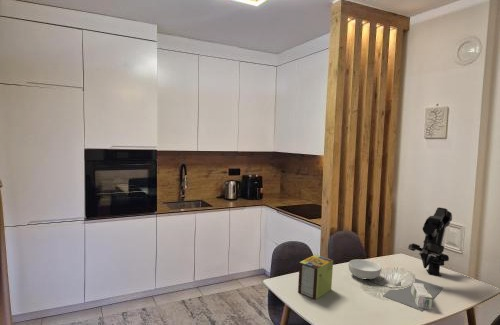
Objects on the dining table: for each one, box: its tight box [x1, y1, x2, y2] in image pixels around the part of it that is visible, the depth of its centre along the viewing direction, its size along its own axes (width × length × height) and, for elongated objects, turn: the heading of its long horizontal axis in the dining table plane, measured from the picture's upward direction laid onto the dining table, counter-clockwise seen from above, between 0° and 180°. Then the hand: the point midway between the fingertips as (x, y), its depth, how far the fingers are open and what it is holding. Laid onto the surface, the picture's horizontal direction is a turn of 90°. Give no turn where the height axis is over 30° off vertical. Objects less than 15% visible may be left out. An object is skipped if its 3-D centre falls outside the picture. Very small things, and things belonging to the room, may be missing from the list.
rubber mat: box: [382, 278, 444, 312], centre depth 164 cm, size 34×18×1 cm, turn 136°
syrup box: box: [411, 282, 433, 310], centre depth 154 cm, size 6×6×14 cm
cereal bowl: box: [348, 258, 382, 281], centre depth 179 cm, size 17×17×7 cm
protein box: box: [297, 254, 334, 301], centre depth 160 cm, size 10×15×16 cm
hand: (424, 268), depth 170 cm, fingers closed
